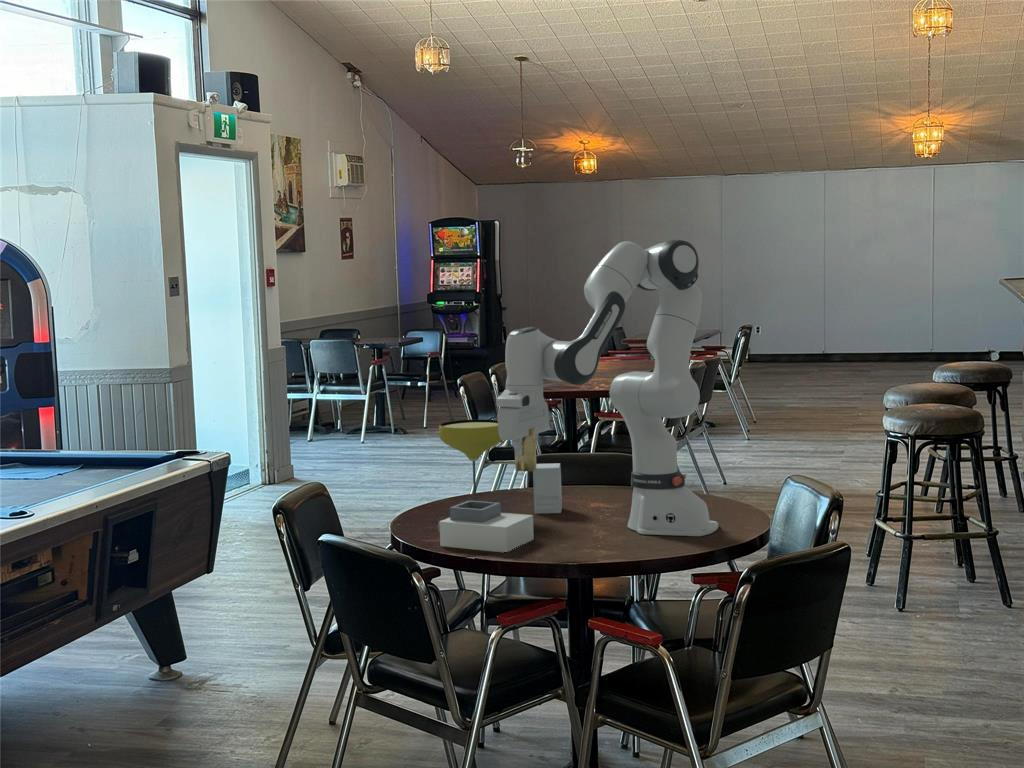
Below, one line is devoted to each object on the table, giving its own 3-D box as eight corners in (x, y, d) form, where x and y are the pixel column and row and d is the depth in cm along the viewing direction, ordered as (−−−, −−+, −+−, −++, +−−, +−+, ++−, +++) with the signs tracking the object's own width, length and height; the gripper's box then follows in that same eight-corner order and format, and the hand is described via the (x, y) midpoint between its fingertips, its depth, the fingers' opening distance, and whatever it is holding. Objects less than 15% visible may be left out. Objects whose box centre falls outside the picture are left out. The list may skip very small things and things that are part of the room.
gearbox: (533, 539, 271) (532, 503, 270) (506, 552, 258) (505, 514, 258) (455, 532, 281) (454, 497, 280) (426, 544, 269) (424, 508, 268)
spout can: (539, 468, 265) (538, 414, 264) (530, 471, 261) (529, 416, 260) (521, 467, 268) (520, 413, 266) (511, 470, 263) (510, 416, 262)
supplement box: (562, 508, 307) (561, 462, 305) (561, 513, 299) (559, 467, 298) (535, 508, 307) (534, 463, 306) (533, 514, 300) (532, 467, 299)
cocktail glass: (521, 516, 297) (518, 423, 294) (460, 526, 288) (457, 430, 285) (489, 505, 312) (486, 417, 310) (430, 514, 304) (427, 423, 301)
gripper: (531, 392, 273) (532, 448, 275) (492, 400, 255) (493, 459, 256) (555, 392, 270) (556, 449, 272) (517, 401, 252) (518, 461, 254)
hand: (525, 454), depth 264 cm, fingers closed on spout can, 5 cm apart
